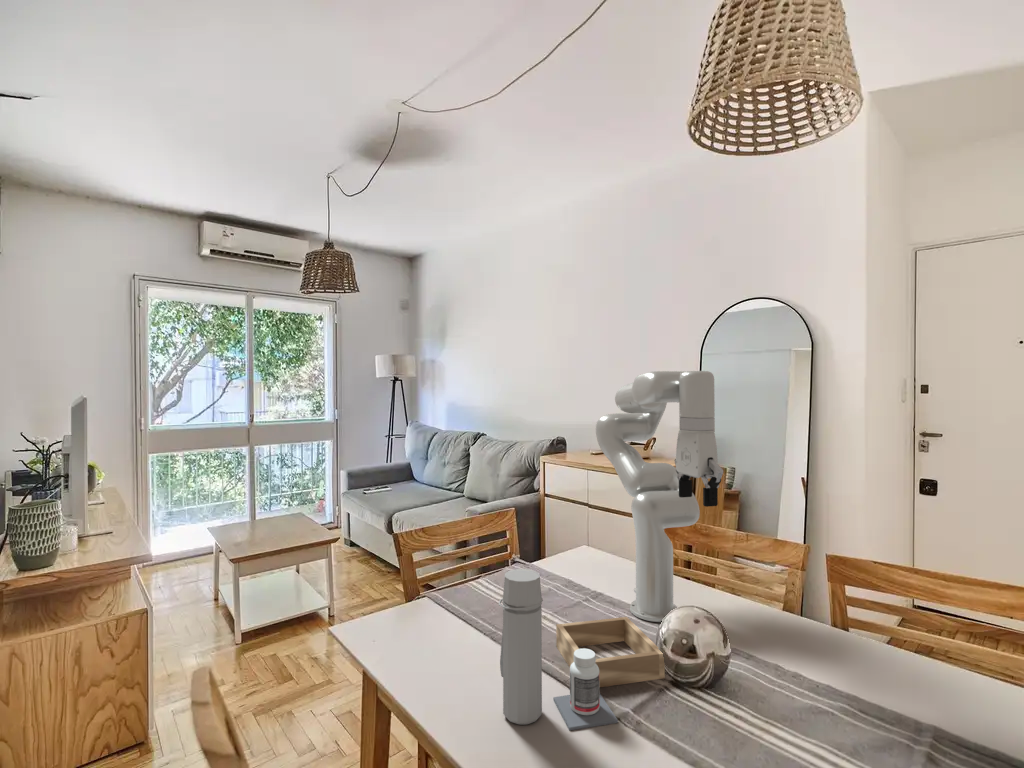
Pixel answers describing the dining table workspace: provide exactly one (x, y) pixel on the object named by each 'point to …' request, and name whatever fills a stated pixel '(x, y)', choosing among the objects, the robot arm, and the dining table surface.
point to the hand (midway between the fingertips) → (697, 501)
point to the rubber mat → (584, 721)
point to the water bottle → (522, 646)
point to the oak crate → (616, 668)
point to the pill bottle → (584, 683)
